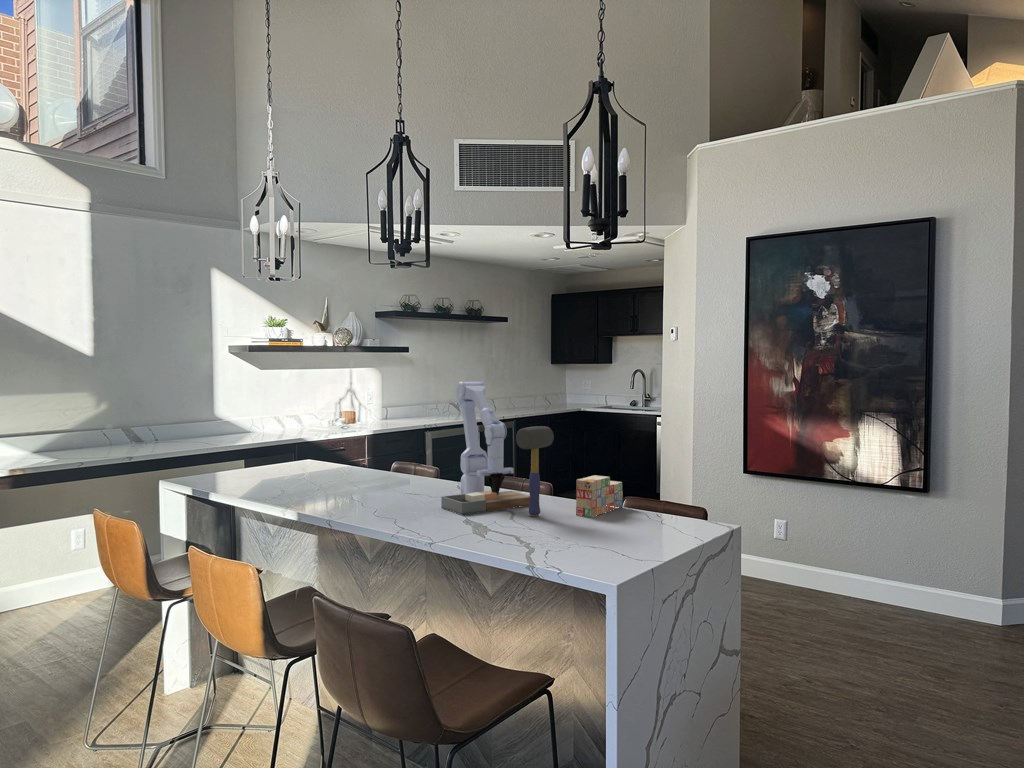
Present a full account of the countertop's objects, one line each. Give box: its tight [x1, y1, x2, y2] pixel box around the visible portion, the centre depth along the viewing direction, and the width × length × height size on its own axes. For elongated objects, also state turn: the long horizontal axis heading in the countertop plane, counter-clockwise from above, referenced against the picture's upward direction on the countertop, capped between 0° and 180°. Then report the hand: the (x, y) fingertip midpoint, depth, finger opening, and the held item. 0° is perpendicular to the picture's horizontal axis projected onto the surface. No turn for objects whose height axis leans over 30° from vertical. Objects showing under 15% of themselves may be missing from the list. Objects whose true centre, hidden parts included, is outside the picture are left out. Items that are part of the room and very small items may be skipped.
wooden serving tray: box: [466, 490, 530, 512], centre depth 254 cm, size 14×20×3 cm
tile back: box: [479, 490, 497, 500], centre depth 251 cm, size 5×5×2 cm
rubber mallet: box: [515, 425, 555, 518], centre depth 235 cm, size 12×8×30 cm, turn 137°
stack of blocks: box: [575, 474, 624, 518], centre depth 245 cm, size 21×6×12 cm, turn 143°
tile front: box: [465, 492, 485, 501], centre depth 248 cm, size 5×5×2 cm
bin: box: [440, 493, 487, 515], centre depth 246 cm, size 14×10×4 cm
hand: (495, 495), depth 253 cm, fingers closed
